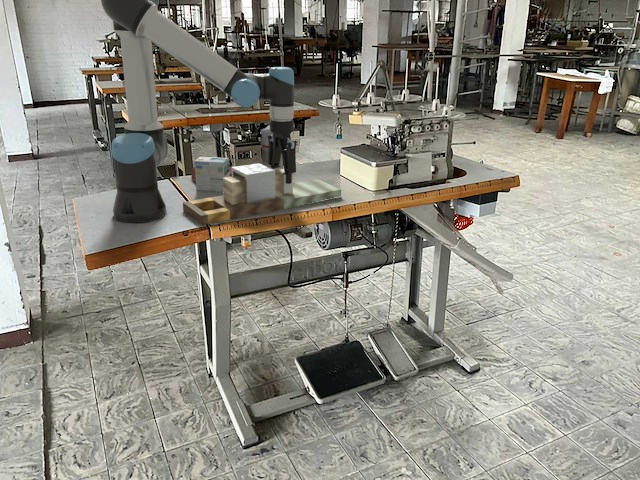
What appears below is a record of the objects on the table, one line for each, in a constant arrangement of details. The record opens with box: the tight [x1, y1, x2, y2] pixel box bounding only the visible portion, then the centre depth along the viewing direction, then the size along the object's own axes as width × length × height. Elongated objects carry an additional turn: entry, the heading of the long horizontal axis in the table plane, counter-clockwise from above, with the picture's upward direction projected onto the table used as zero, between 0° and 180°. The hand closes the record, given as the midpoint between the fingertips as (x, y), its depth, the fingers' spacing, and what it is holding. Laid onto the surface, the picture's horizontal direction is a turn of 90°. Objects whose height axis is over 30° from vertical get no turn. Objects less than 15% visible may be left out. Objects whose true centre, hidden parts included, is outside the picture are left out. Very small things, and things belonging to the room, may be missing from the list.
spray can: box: [261, 124, 284, 169], centre depth 194 cm, size 8×8×20 cm
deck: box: [182, 178, 342, 226], centre depth 169 cm, size 51×14×3 cm, turn 126°
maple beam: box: [222, 168, 294, 205], centre depth 166 cm, size 22×6×7 cm, turn 125°
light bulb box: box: [194, 156, 230, 193], centre depth 182 cm, size 11×7×11 cm, turn 84°
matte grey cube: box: [231, 163, 275, 205], centre depth 165 cm, size 10×10×10 cm
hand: (281, 189), depth 172 cm, fingers closed on maple beam, 6 cm apart
